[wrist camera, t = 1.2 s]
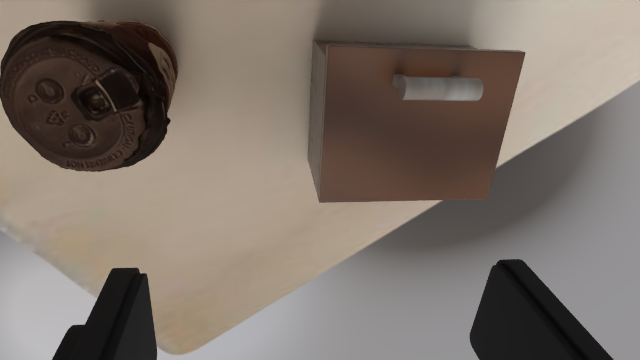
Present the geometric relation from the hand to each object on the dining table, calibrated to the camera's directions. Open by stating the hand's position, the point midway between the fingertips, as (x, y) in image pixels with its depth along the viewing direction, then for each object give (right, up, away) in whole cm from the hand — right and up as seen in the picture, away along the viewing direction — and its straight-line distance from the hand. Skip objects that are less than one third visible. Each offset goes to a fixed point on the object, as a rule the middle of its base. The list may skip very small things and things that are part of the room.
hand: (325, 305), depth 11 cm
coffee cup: (-14, +13, +22) cm, 29 cm away
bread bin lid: (+7, +7, +19) cm, 22 cm away
